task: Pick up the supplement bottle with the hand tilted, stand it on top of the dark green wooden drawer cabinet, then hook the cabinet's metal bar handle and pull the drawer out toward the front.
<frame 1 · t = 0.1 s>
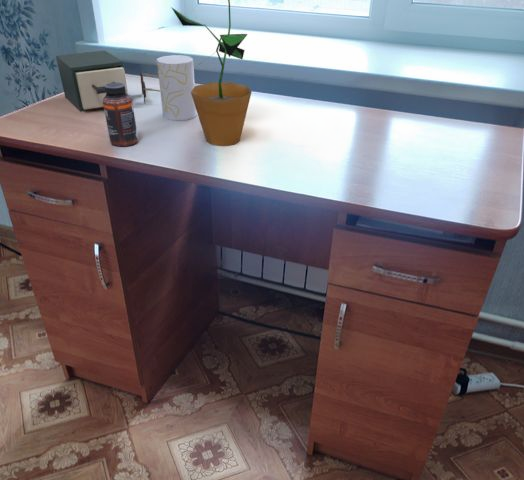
cup: (180, 115, 123), on the table
supplement bottle: (124, 143, 109), on the table
cabinet: (96, 100, 130), on the table
sunglasses: (171, 98, 133), on the table
drawer: (99, 85, 124), point 5 cm above the table, slide at 1.0 cm
potted plant: (222, 140, 111), on the table
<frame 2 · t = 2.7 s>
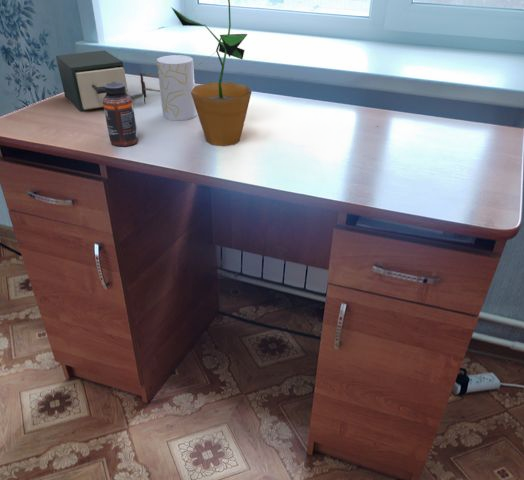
nothing on the table moved.
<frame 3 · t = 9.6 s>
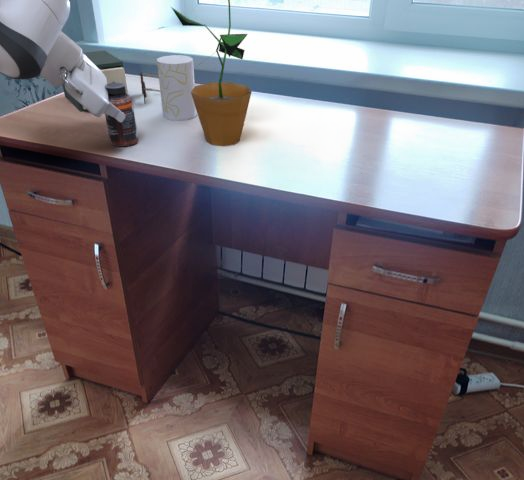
hand: (122, 113, 105), 6 cm above the table, tool tilted 45°, fingers closed on supplement bottle, 6 cm apart
supplement bottle: (124, 143, 109), on the table, touching gripper
everything else where it was.
when the fingers open (15 cm above the table, at t = 20.1 s): supplement bottle stays where it is, resting on cabinet.
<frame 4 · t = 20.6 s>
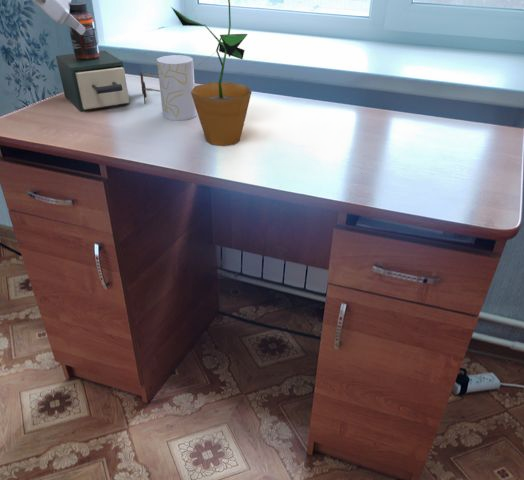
hand: (84, 28, 121), 16 cm above the table, tool tilted 45°, fingers open, 8 cm apart
supplement bottle: (87, 58, 125), point 9 cm above the table, touching cabinet
everything else where it was.
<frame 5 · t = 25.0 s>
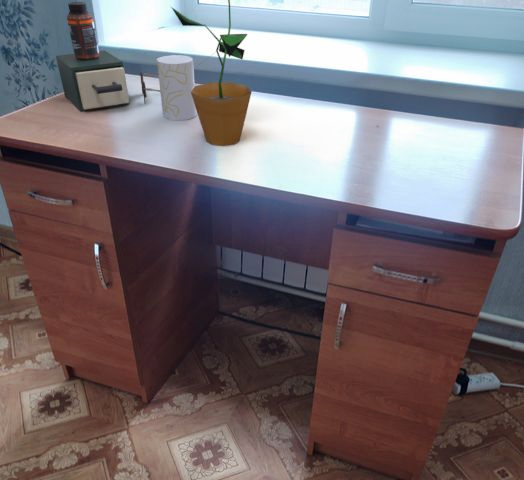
nothing on the table moved.
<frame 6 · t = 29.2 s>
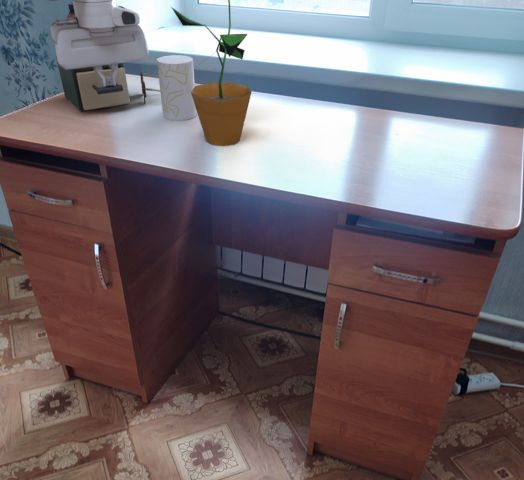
hand: (109, 85, 118), 6 cm above the table, tool pointing down, fingers closed, pressing on drawer
drawer: (99, 85, 124), point 5 cm above the table, slide at 1.5 cm, touching gripper
everything else where it was.
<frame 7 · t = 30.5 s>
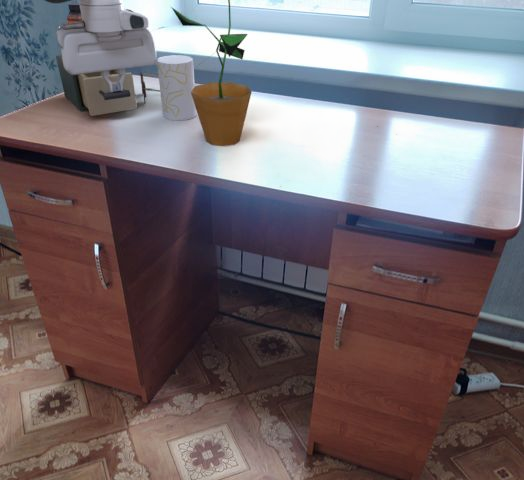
hand: (116, 91, 115), 6 cm above the table, tool pointing down, fingers closed, pressing on drawer
drawer: (106, 90, 121), point 5 cm above the table, slide at 6.5 cm, touching gripper
everything else where it was.
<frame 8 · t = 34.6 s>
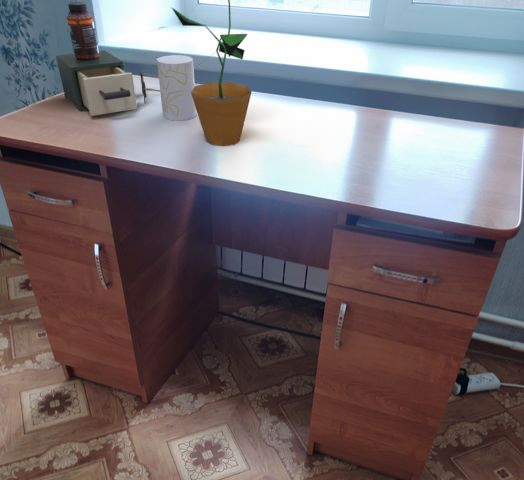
drawer: (106, 90, 121), point 5 cm above the table, slide at 6.5 cm
everything else where it was.
at the end: supplement bottle inside the target area on the cabinet (0.2 cm from its centre), point 9.4 cm above the cabinet's base; supplement bottle tilted 0°; drawer slide at 6.5 cm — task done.
